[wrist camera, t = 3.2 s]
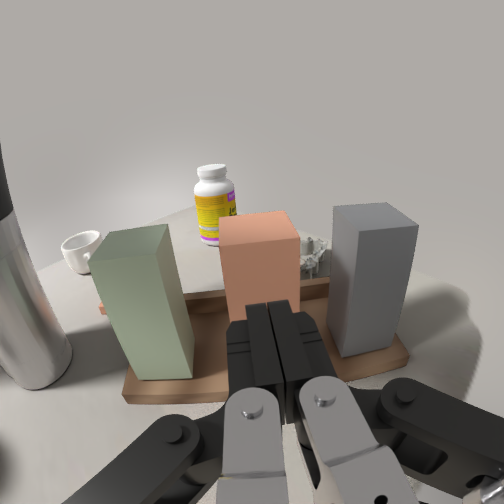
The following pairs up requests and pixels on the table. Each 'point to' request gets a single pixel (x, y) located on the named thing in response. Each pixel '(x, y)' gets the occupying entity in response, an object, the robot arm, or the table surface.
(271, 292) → the terracotta block
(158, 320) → the sage block
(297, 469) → the table surface
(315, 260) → the egg carton
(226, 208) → the supplement bottle
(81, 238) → the teacup
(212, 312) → the walnut tray
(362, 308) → the charcoal block
